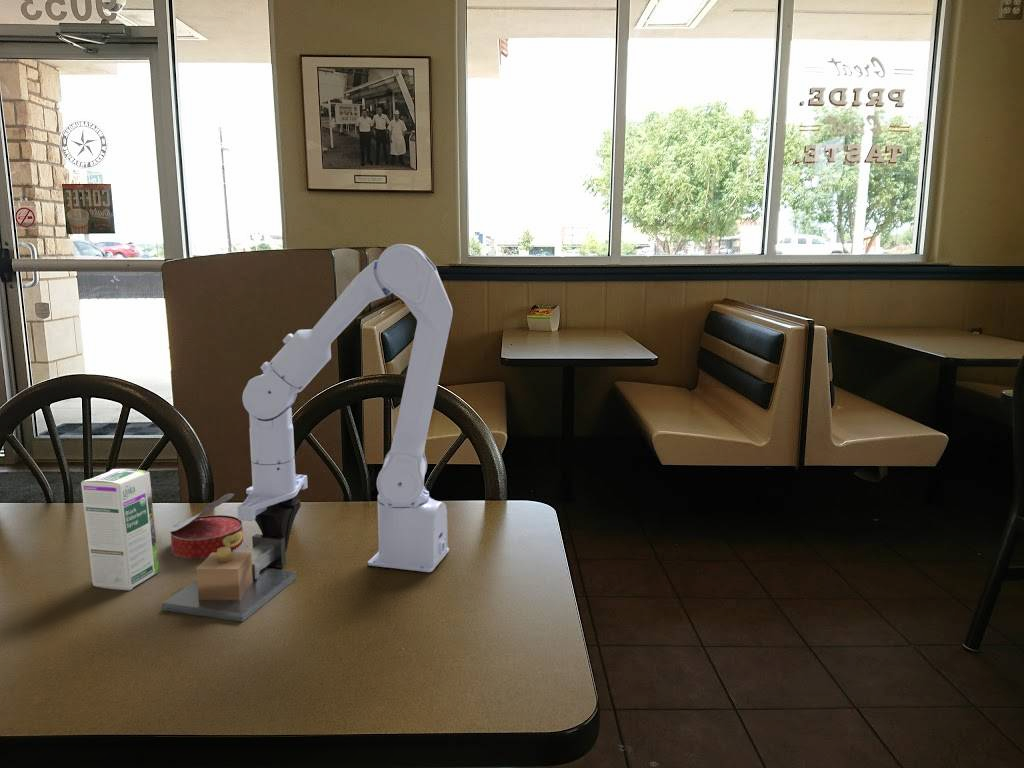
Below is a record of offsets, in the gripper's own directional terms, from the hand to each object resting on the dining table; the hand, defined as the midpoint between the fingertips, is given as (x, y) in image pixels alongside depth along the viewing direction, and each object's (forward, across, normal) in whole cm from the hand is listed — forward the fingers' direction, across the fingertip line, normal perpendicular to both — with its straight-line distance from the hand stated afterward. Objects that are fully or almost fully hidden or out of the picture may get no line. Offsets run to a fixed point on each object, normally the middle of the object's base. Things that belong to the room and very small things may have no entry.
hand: (277, 552), depth 103 cm
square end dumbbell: (+1, +5, 0) cm, 5 cm away
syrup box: (+1, +11, -16) cm, 19 cm away
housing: (0, +12, 0) cm, 12 cm away
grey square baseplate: (+1, +11, 0) cm, 11 cm away
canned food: (+2, -2, -13) cm, 13 cm away
